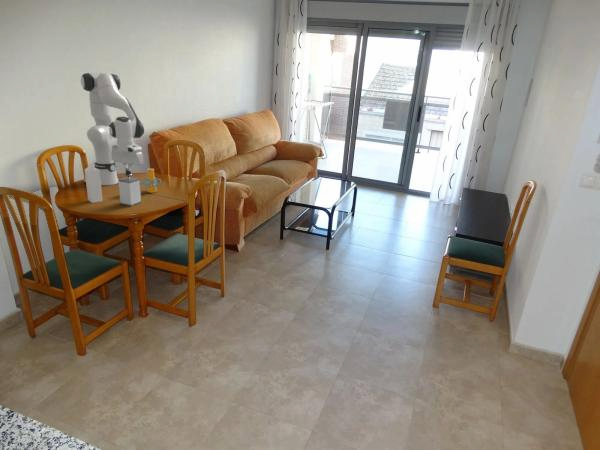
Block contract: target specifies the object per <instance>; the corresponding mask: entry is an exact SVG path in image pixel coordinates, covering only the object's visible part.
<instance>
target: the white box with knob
mask: <svg viewBox="0 0 600 450" xmlns="http://www.w3.org/2000/svg"><path fill="white" fill-rule="evenodd" d="M118 182H119V183H118V190H119V200H120V201H119V202H120V205H122V206H127V207H134V206H137V205H140V204H141V203H142V199H141V197H142V191H141V190H142V187H141V179H140V178H137V177H132V176H130V179H129V180H128V176H124V177H122V178H118Z"/></svg>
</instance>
